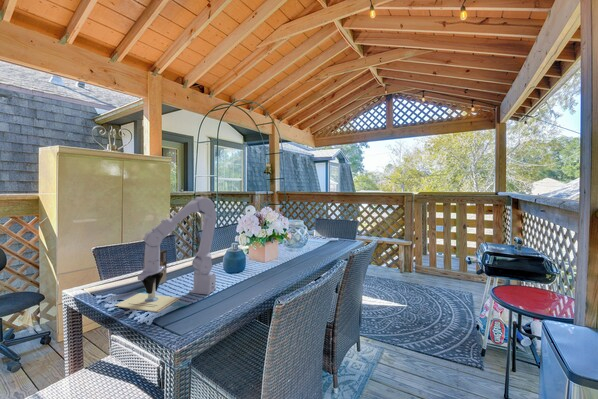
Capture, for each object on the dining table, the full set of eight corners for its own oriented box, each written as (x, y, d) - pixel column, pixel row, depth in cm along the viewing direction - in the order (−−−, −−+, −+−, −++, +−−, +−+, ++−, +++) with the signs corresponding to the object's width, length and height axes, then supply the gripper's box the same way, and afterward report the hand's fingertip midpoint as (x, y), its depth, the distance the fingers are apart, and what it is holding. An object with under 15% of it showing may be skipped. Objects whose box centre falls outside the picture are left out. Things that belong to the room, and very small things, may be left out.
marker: (157, 296, 123) (157, 278, 123) (152, 299, 120) (152, 280, 120) (150, 295, 124) (151, 277, 123) (146, 298, 121) (146, 279, 120)
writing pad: (180, 298, 125) (180, 297, 125) (158, 312, 111) (158, 311, 111) (139, 293, 129) (139, 292, 129) (114, 306, 115) (114, 305, 115)
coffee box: (155, 280, 147) (156, 249, 146) (166, 281, 146) (167, 250, 145) (142, 286, 138) (142, 253, 137) (154, 287, 137) (154, 254, 136)
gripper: (155, 255, 129) (154, 285, 130) (131, 263, 115) (130, 297, 115) (169, 256, 128) (169, 286, 128) (146, 265, 113) (146, 299, 114)
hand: (151, 291), depth 122 cm, fingers closed on marker, 3 cm apart
